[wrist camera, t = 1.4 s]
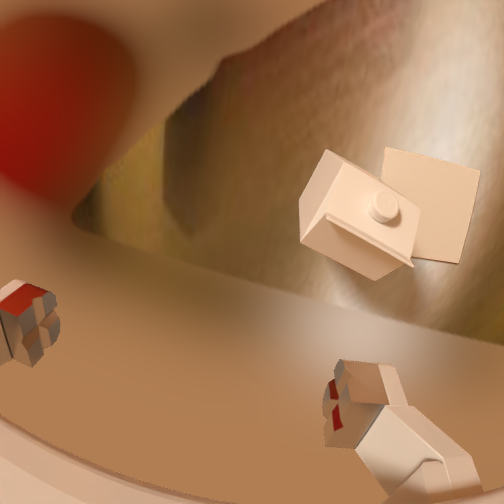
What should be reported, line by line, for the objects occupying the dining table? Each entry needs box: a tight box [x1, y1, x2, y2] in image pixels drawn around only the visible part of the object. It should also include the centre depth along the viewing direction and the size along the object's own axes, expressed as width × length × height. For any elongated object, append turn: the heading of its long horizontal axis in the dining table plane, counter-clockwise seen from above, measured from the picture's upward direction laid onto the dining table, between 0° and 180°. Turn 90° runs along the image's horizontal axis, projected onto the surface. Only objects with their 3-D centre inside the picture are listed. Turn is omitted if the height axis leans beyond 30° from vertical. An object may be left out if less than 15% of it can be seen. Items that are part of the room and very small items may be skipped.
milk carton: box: [299, 149, 421, 281], centre depth 29 cm, size 7×7×19 cm
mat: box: [380, 147, 481, 263], centre depth 36 cm, size 14×13×1 cm
